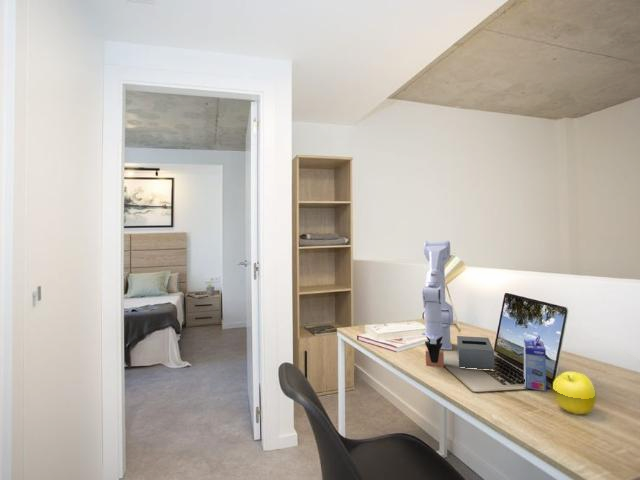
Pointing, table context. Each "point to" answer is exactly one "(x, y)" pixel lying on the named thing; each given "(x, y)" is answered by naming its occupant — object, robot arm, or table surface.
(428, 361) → the reddish brown block
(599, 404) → the table surface
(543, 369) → the ink cartridge box
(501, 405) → the table surface
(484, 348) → the money box
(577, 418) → the table surface
